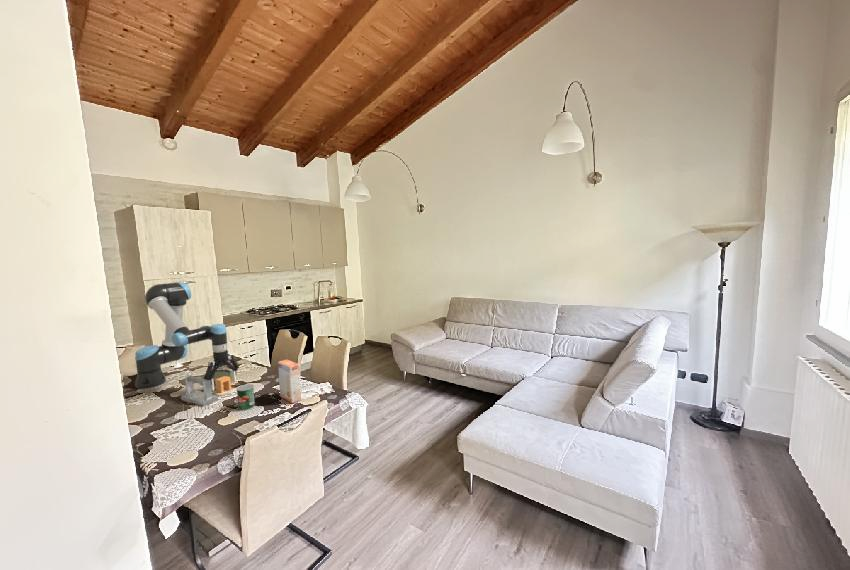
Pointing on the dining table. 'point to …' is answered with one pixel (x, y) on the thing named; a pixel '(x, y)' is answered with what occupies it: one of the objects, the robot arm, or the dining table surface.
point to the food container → (223, 372)
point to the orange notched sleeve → (220, 382)
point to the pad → (224, 392)
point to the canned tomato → (245, 397)
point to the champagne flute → (177, 365)
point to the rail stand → (198, 392)
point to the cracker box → (289, 381)
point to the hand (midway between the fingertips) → (223, 385)
